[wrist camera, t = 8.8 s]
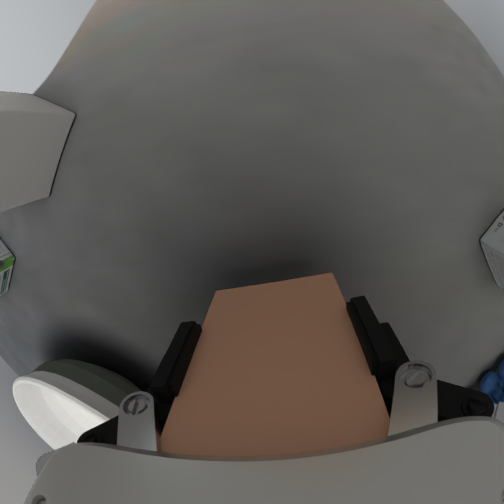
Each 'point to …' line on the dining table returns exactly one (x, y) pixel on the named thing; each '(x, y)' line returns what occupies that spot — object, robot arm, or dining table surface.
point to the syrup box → (5, 267)
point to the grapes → (494, 384)
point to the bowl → (69, 399)
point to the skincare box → (495, 249)
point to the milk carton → (29, 147)
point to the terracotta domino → (276, 375)
